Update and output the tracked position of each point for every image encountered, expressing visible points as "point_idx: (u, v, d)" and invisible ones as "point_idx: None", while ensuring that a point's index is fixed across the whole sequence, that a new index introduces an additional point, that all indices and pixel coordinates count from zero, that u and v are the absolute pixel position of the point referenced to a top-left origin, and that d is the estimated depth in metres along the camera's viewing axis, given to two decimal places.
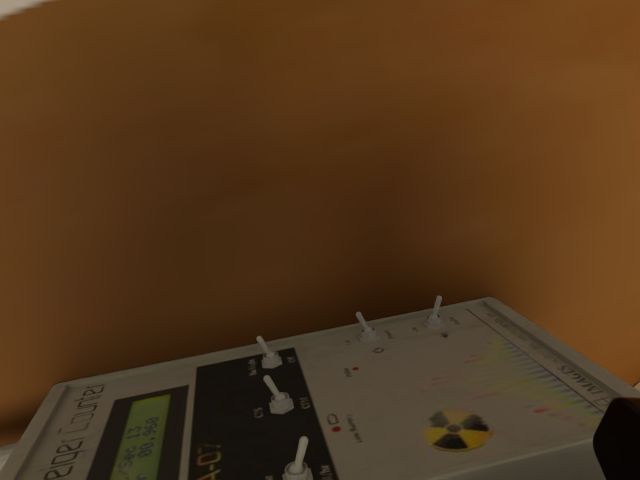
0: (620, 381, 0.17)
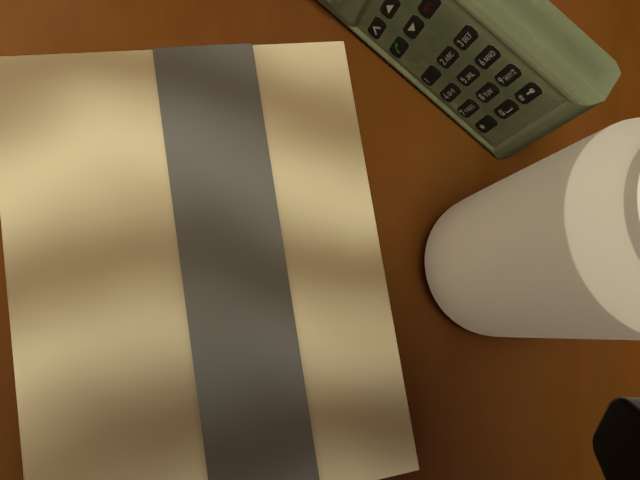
0: None
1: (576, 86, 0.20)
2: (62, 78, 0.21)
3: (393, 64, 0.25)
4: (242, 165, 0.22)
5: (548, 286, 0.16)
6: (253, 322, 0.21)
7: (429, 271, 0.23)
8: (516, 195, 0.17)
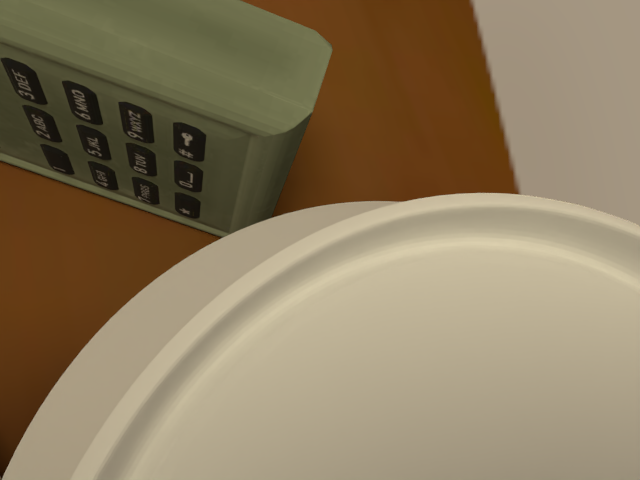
0: None
1: (246, 103, 0.10)
2: None
3: (3, 159, 0.14)
4: None
5: None
6: None
7: None
8: None
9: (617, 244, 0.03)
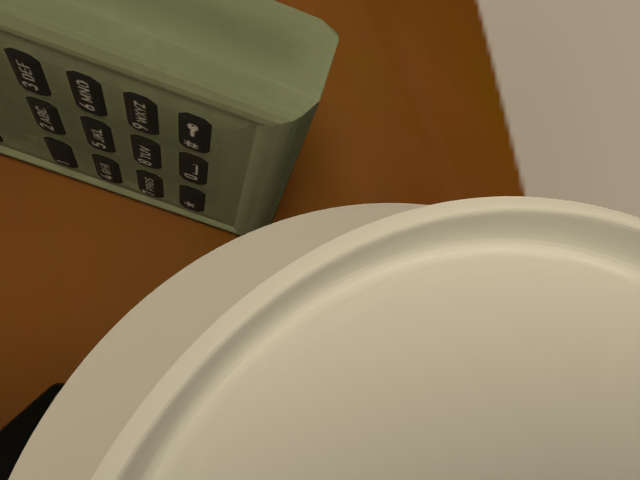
0: None
1: (252, 92, 0.10)
2: None
3: (6, 153, 0.14)
4: None
5: None
6: None
7: None
8: None
9: None
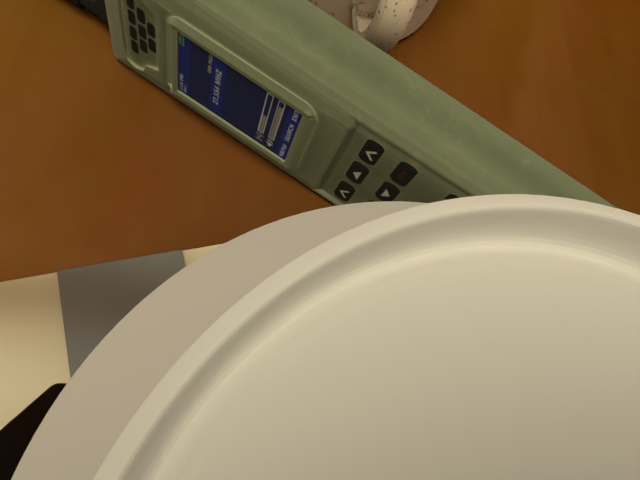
0: None
1: None
2: None
3: None
4: None
5: None
6: None
7: None
8: None
9: None
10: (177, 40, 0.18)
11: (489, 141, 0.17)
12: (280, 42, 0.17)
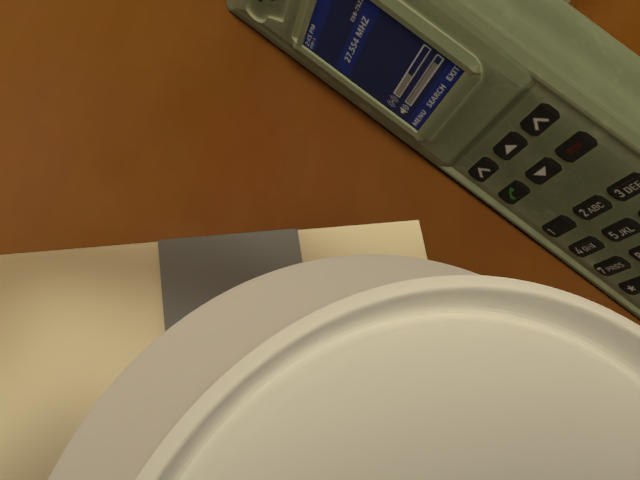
0: None
1: None
2: (23, 289, 0.14)
3: (501, 211, 0.19)
4: None
5: None
6: None
7: None
8: None
9: (574, 317, 0.04)
10: None
11: None
12: None
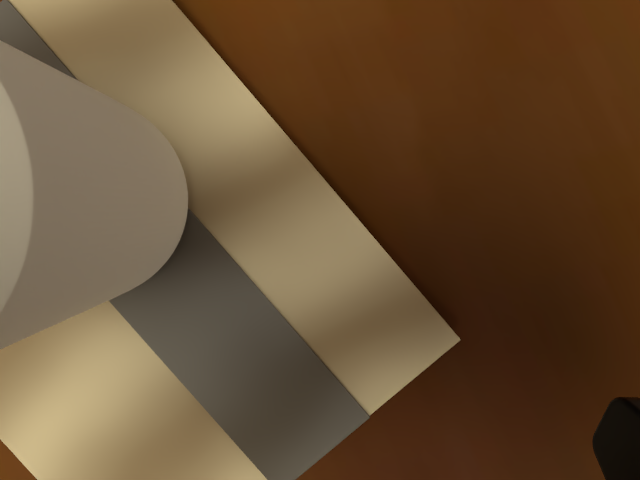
0: None
1: None
2: None
3: None
4: None
5: None
6: (202, 296, 0.18)
7: None
8: None
9: None
10: None
11: None
12: None
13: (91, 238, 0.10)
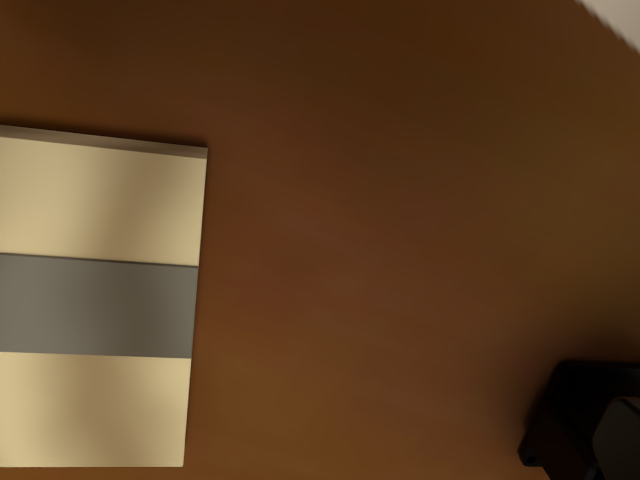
0: None
1: None
2: None
3: None
4: None
5: None
6: None
7: None
8: None
9: None
10: None
11: None
12: None
13: None
